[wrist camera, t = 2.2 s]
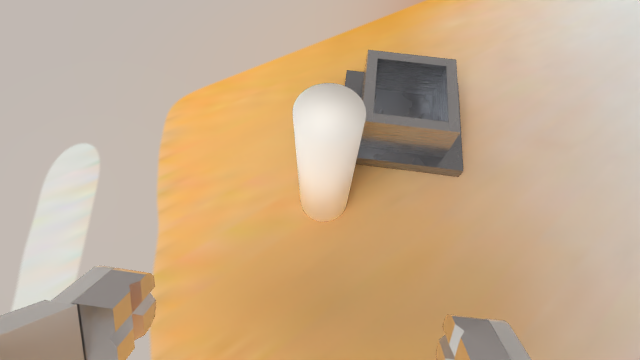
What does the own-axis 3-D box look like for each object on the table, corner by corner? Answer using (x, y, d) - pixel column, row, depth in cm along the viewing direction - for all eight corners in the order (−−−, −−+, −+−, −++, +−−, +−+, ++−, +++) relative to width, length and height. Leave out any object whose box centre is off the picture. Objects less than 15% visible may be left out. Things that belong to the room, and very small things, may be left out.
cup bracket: (453, 90, 32) (474, 52, 28) (458, 176, 28) (483, 147, 24) (345, 78, 32) (350, 38, 28) (335, 161, 28) (339, 129, 24)
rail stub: (349, 181, 28) (368, 87, 18) (344, 224, 26) (363, 146, 16) (304, 176, 28) (299, 79, 18) (297, 218, 26) (286, 137, 16)
